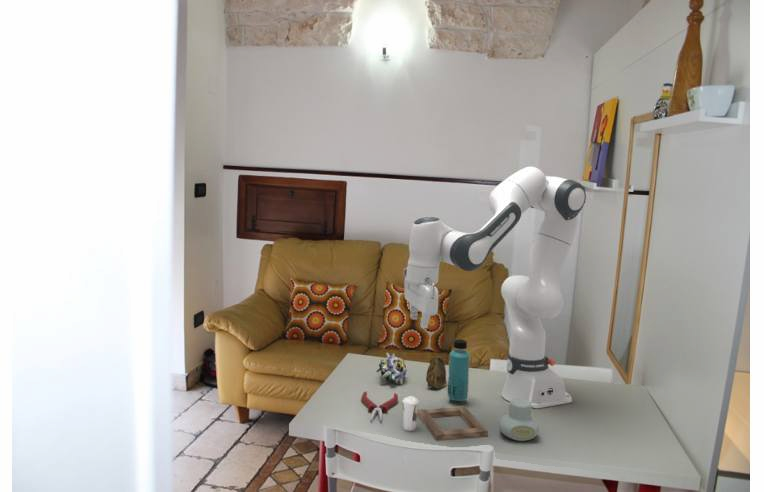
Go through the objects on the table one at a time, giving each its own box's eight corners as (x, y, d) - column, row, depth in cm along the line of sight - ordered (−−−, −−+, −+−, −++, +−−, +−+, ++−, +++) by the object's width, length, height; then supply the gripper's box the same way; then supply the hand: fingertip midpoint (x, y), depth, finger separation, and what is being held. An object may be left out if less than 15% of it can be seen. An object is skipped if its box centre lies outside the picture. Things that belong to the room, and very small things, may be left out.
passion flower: (399, 398, 209) (399, 378, 201) (370, 387, 213) (368, 367, 204) (412, 373, 217) (412, 352, 208) (383, 362, 220) (382, 342, 212)
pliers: (355, 424, 177) (356, 415, 176) (362, 397, 197) (362, 389, 196) (395, 426, 176) (396, 418, 176) (398, 399, 196) (398, 392, 196)
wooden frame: (464, 411, 187) (464, 406, 187) (487, 436, 171) (488, 431, 171) (417, 414, 184) (417, 409, 183) (436, 440, 167) (436, 435, 167)
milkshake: (398, 424, 176) (400, 391, 175) (417, 425, 176) (418, 392, 175) (398, 431, 172) (399, 397, 170) (417, 432, 172) (419, 398, 170)
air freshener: (533, 430, 176) (536, 397, 175) (541, 443, 168) (544, 408, 166) (495, 429, 176) (497, 395, 174) (501, 442, 168) (504, 407, 166)
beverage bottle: (470, 400, 196) (473, 339, 193) (463, 407, 190) (467, 344, 187) (450, 396, 199) (454, 336, 196) (443, 403, 193) (447, 341, 190)
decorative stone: (426, 355, 205) (434, 356, 203) (444, 356, 212) (452, 357, 209) (424, 388, 204) (433, 389, 202) (442, 387, 211) (450, 388, 208)
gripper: (445, 282, 164) (441, 333, 165) (422, 269, 183) (418, 314, 185) (423, 282, 162) (419, 333, 164) (402, 268, 182) (398, 314, 183)
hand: (418, 323), depth 175 cm, fingers open, 8 cm apart
